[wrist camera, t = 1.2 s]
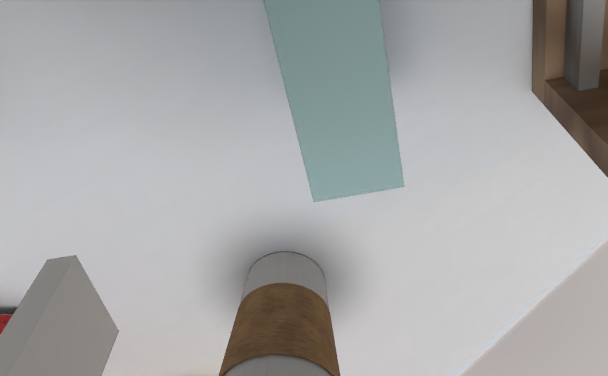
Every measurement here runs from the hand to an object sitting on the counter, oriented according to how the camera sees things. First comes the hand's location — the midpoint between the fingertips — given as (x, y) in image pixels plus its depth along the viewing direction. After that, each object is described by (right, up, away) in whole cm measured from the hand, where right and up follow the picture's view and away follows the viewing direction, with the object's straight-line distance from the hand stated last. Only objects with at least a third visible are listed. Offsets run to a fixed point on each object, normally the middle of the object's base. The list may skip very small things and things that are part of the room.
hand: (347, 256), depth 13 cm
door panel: (0, +11, +17) cm, 21 cm away
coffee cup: (-2, -5, +28) cm, 29 cm away
